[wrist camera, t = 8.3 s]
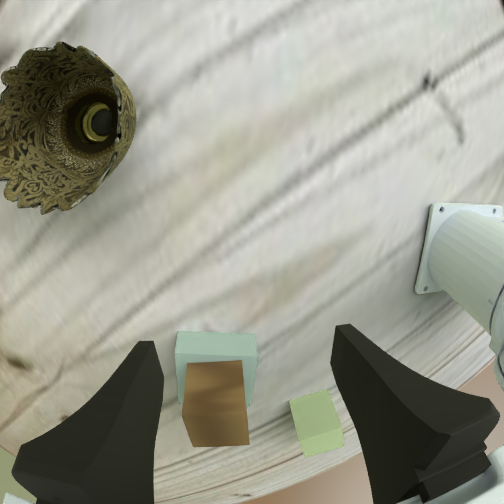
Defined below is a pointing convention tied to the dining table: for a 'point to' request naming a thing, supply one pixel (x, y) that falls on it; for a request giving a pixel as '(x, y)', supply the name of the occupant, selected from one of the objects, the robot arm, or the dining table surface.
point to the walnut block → (215, 404)
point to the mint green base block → (216, 355)
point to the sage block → (316, 423)
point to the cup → (60, 126)
